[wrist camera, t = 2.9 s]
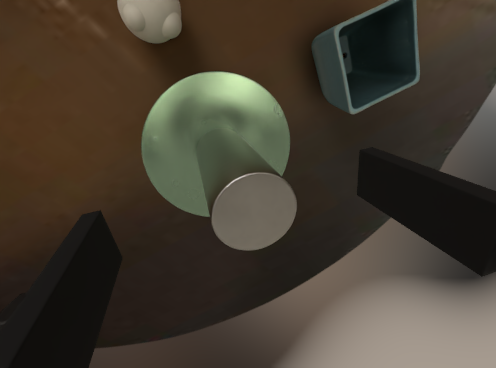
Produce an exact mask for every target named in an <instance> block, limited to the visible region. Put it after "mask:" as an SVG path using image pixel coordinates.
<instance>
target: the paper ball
mask: <svg viewBox="0 0 496 368" xmlns="http://www.w3.org/2000/svg"><path fill="white" fill-rule="evenodd" d="M117 3H118V9H119V13H120V15H121V18H122V20H123V21H124V23H125V25H126V26H127V28H128V29H129V30H130V31H131V32H132V33H133V34H134V35H135V36H137V37H138V38H140V39H141V40H144V41H146V42H149V43H163V42H166V41H168V40H170V39H173V38H175V37H177V36H178V35H179V33H180V32H181V28H182V22H181V7H180V3H179V0H117Z"/></svg>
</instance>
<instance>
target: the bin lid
mask: <svg viewBox="0 0 496 368" xmlns="http://www.w3.org/2000/svg"><path fill="white" fill-rule="evenodd" d="M141 151H142V158H143V163H144V167H145V169H146V172H147V175H148V177H149V178H150V180H151V182H152V184H153V185H154V187H155V188H156V189H157V191H158V192H159V193H160V194H161V195H162V196H163V197H164V198H165V199H166V200H168V201H169V202H170V203H172V204H173V205H175V206H176V207H178V208H180V209H182V210H184V211H186V212H189V213H192V214H195V215H200V216H207V217H210V219H211V224H212V228H213V230H214V232H215V234H216V235H217V237H218V238H219V239H220V240H221V241H222V242H223V243H225V244H226V245H228V246H230V247H232V248H235V249H238V250H257V249H261V248H264V247H266V246H269V245H271V244H273V243H274V242H276V241H277V240H279V239H280V238H281V237H282V236H283V235H284V234H285V233H286V232H287V231H288V229H289V228H290V226H291V225H292V223H293V221H294V218H295V215H296V209H297V202H296V196H295V193H294V191H293V189H292V187H291V186H290V184H289V183H288V182H287V181H286V180H285V179H284V178H283V177H282V175H283V172H284V170H285V168H286V165H287V161H288V157H289V151H290V134H289V128H288V123H287V121H286V118H285V115H284V113H283V111H282V109H281V107H280V105H279V104H278V102H277V101H276V99H275V98H274V97H273V96H272V95H271V94H270V93H269V91H267V90H266V89H265V88H264V87H263V86H261V85H260V84H258V83H257V82H255V81H254V80H252V79H250V78H247V77H245V76H243V75H240V74H236V73H232V72H225V71H208V72H202V73H197V74H194V75H191V76H188V77H186V78H184V79H182V80H180V81H178V82H177V83H175V84H174V85H172V86H171V87H169V88H168V89H167V90H166V91H165V92H164V93H163V94H162V95H161V96H160V97H159V98H158V100H157V101H156V102H155V103H154V105H153V107H152V108H151V110H150V112H149V114H148V116H147V119H146V121H145V124H144V128H143V132H142V140H141Z"/></svg>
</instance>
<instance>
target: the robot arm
mask: <svg viewBox="0 0 496 368" xmlns="http://www.w3.org/2000/svg"><path fill="white" fill-rule="evenodd" d="M357 195H358V196H359V197H361V198H363V199H364V200H366V201H367V202H369V203H370V204H372V205H373V206H375V207H376V208H378V209H379V210H381V211H382V212H384V213H385V214H387V215H389V216H390V217H392V218H393V219H395V220H396V221H398V222H399V223H401V224H402V225H404V226H406V227H407V228H408V229H410V230H411V231H413V232H415V233H416V234H418V235H419V236H421V237H422V238H424V239H425V240H427V241H429V242H430V243H431V244H433V245H434V246H436V247H438V248H439V249H441V250H442V251H444V252H445V253H447V254H448V255H450V256H451V257H453V258H454V259H456V260H457V261H459V262H460V263H462V264H463V265H465V266H467V267H468V268H470V269H471V270H473V271H474V272H476V273H477V274H479V275H480V276H485V275H488V274H490V273H493V272H495V271H496V191H494V190H491V189H488V188H485V187H482V186H480V185H477V184H474V183H471V182H468V181H466V180H463V179H460V178H457V177H454V176H451V175H449V174H446V173H443V172H440V171H438V170H435V169H432V168H429V167H426V166H424V165H421V164H418V163H415V162H412V161H410V160H407V159H404V158H401V157H398V156H395V155H393V154H390V153H387V152H384V151H381V150H379V149H376V148H373V147H371V148H367V149H362V150H360V155H359V171H358V187H357ZM121 261H122V256H121V253H120V251H119V249H118V247H117V245H116V243H115V240H114V238H113V236H112V234H111V232H110V230H109V228H108V225H107V223H106V221H105V219H104V217H103V215H102V212H101V210H100V211H96V212H92V213H88V214H83V215H82V216H81V217H80V218H79V220H78V221H77V223H76V224H75V225H74V227H73V228H72V230H71V231H70V233H69V234H68V235H67V237H66V238H65V240H64V241H63V242H62V244H61V245H60V247H59V248H58V250H57V251H56V252H55V254H54V255H53V257H52V258H51V259H50V261H49V262H48V264H47V265H46V267H45V268H44V269H43V271H42V272H41V274H40V275H39V276H38V278H37V279H36V281H35V282H34V284H33V285H32V286H31V288H30V289H29V291H28V292H26V293H23V294H20V295H19V296H18V297H17V298H15V299H14V300H13V301H12V302H11V303H10V304H9V305H8V306H6V307H5V308H4V309H3V310H2V311H1V313H0V368H89V364H90V361H91V358H92V355H93V352H94V348H95V345H96V342H97V339H98V335H99V332H100V329H101V326H102V323H103V319H104V316H105V313H106V310H107V306H108V303H109V300H110V297H111V294H112V290H113V287H114V284H115V281H116V278H117V274H118V271H119V268H120V265H121Z"/></svg>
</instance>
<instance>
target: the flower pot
mask: <svg viewBox="0 0 496 368" xmlns="http://www.w3.org/2000/svg"><path fill="white" fill-rule="evenodd" d="M416 9H417V6H416V0H389V1H387V2H385V3H383V4H381V5H379V6H377V7H375V8H373V9H371V10H369V11H366V12H364V13H362V14H360V15H358V16H356V17H353V18H351V19H349V20H347V21H344V22H342V23H340V24H338V25H336V26H334V27H332V28H330V29H328V30H326V31H324V32H322V33H321V34H319V35H318V36H316V37H315V39H314V40H313V42H312V54H313V58H314V62H315V66H316V70H317V74H318V78H319V83H320V86H321V90H322V93H323V95H324V97H325V98H326V100H327V101H328V102H329V103H330V104H332V105H334V106H336V107H338V108H340V109H342V110H344V111H346V112H348V113H350V114H356V113H358V112H360V111H362V110H364V109H366V108H368V107H370V106H372V105H374V104H376V103H378V102H380V101H382V100H384V99H386V98H388V97H390V96H392V95H394V94H396V93H398V92H400V91H402V90H404V89H406V88H408V87H410V86H413V85H414V84H416V83H417V82H418V81H419V77H420V66H419V54H418V53H419V52H418V36H417V10H416ZM343 53H345V54H346V56H345V57H344V58H343Z"/></svg>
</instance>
